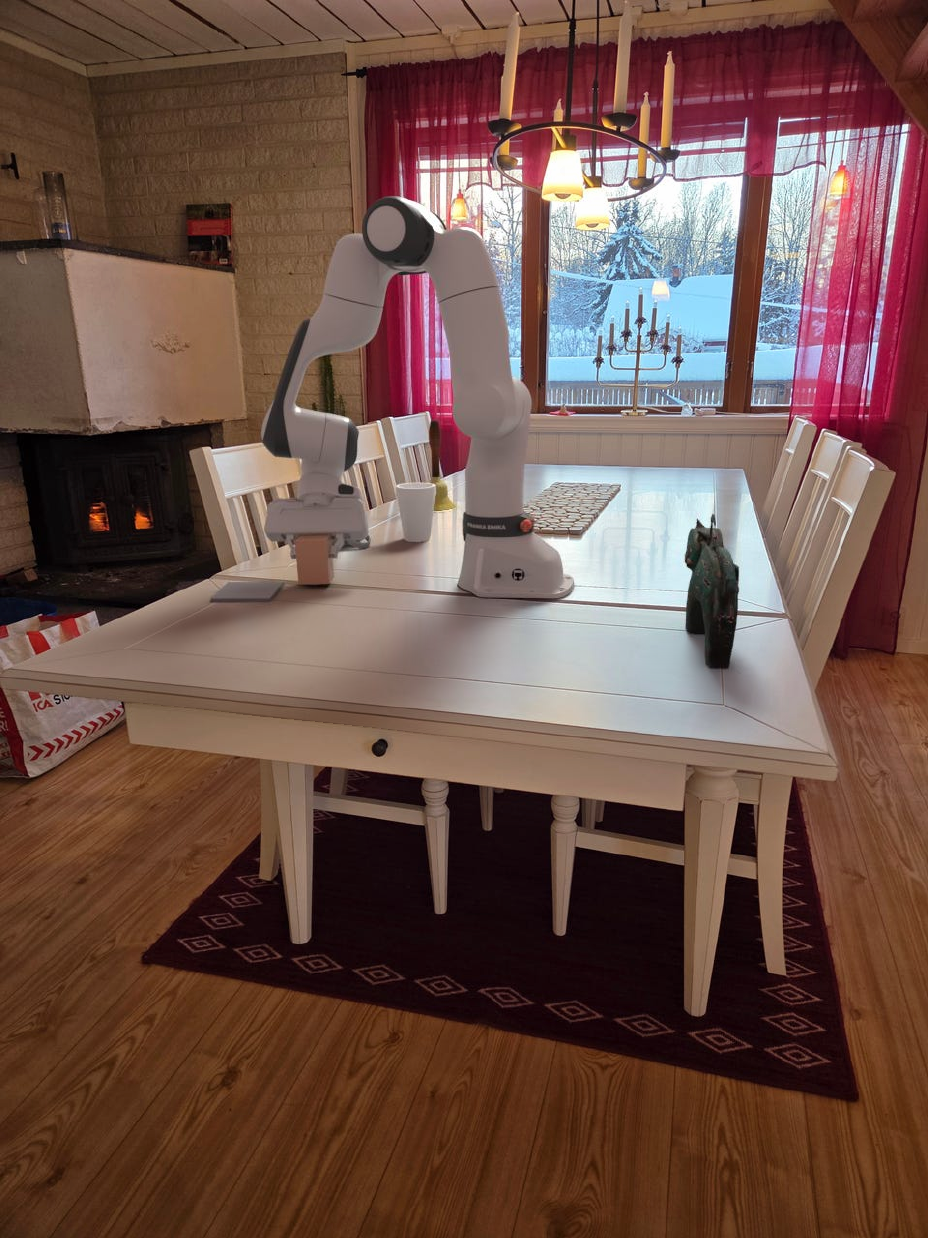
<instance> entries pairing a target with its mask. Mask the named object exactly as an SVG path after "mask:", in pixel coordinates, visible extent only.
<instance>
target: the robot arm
mask: <svg viewBox="0 0 928 1238" xmlns="http://www.w3.org/2000/svg"><path fill="white" fill-rule="evenodd" d="M361 232H362V233H357V232H356V233H350V234H346V235H344V236H342V237H341V238H340V239H338V241H337V243H336V244H335V248H334V251H333V253H332V255H331V258H330V262H329V266H328V269H327V273H326V277H325V282H324V287H323V294H322V297H321V298H322V299H321V301H320V304H319V306H318V309H317V310H316V311H315V313H314V314H313V315H312V316H311V317H310V318H307V319H306V318H305V319H303V320H302V322H301V323H300V325H299V327H298V328H297V330H296V333H295V335H294V337H293V341H292V344H291V346H290V349H289V351H288V352H287V353H288V354H287V357H286V359H285V363H284V365H283V369H282V372H281V375H280V378H279V381H278V384H277V388H276V391H275V395H274V398H273V399H272V403H271V404H270V406H269V408H268V410H267V412H266V413H265V416H264V418H263V421H262V425H261V431H260V434H261V435H260V437H261V443H262V444H263V446H264V447H265V448H266V449H267V452H269V453H270V455H272V456H274V457H275V458H287V459H292V458H293V459H298V460H301V462H300V463H301V464H300V468H301V469H300V470H301V476H300V478H299V481H298V489H297V495H296V496H297V497H288V498H281V497H278V498H275V499H274V500H272V501H270V502H269V503H268V504H267V507H266V518H265V522H264V527H263V530H264V534H265V536H266V538H267V539H268V540H269V541H271V542H287V545H288V547H289V548H290V553H289V555H290V558H291V559H292V560H296V552H295V540H296V539H297V538H298V537H299V536H300V535H331V540H336V541H337V542H336V543H335V544H334V546H332V547H329V556H330V558H333V559H338V557H339V551H340V550H341V549H342V548H343V547H344V546H343V545H344V543H345V540H362V541H365V540H366V539H365V538H366V537H367V536H368V535H369V519H368V515H367V511H366V507H365V500H364V496H363V494H362V491H361V488H360V487H357V486H355V485H351V484H348V483H345V482H343V480H342V479H343V476H344V475H345V472H347V471H349V469H351V468H352V466H353V465H355V463H356V461H357V457H358V440H359V435H360V432H359V429H358V427H357V425H356V424H355V422H354V421H353V420H352V419H351V418H349V417H346V416H343V415H339V414H334V413H329V412H322V411H318V410H317V411H316V410H311V409H307V408H302V407H299V406H297V404H296V401H297V399H298V394H299V391H300V389H301V385H302V383H303V380H304V377H305V374H306V371H307V368H308V367H309V365H310V364H311V363H312V362H313V361H314V360H316V359H318V358H320V357H323V356H326V355H333V354H338V353H345V352H351V351H354V350H357V349H360V348H362V347H364V346H366V345H367V344H369V343H370V342H371V341H372V340H373V339H374V338H375V336H376V335H377V332H378V329H379V325H380V323H381V318H382V313H383V310H384V309H383V307H384V305H385V297H386V291H387V287H388V285H389V283H390V281H391V279H393V277H394V276H395V275H398V276H409V275H421V274H426V273H427V274H428V275H429V278H430V279H431V281H432V284H433V288H434V290H435V291H434V292H435V295H436V300H437V304H438V309H439V312H440V317H441V322H442V325H443V330H444V334H445V339H446V342H447V347H448V353H449V361H450V376H451V385H452V386H451V387H452V394H453V395H452V396H453V401H452V408H451V409H452V411H451V412H452V418H453V421H454V424H455V425H456V426H457V428H458V429H459V430H460V432H461V433H462V434H464V435H465V436H467V437H469V438H471V439H470V445H469V446H470V447H469V451H468V452H469V453H468V458H467V463H466V466H465V470H464V502H465V504H464V506H465V507H464V508H465V511H464V512H463V514H462V537H463V539H462V540H463V542H464V545H463V546H464V548H463V556H462V564H461V569H460V575H459V576H458V577H459V578H458V581H457V585H458V586H459V588H461V589H463V590H465V591H467V592H471V593H473V595H475V596H477V597H479V598H505V599H506V598H507V599H508V598H509V599H510V598H511V599H512V598H513V599H514V598H515V599H516V598H517V599H520V598H522V599H559V598H563V597H565V596H567V595H568V594H570V593H571V592H572V591H573V590H574V587H575V579H574V578H573V576H571V575H570V574H565V573H564V568H563V561H562V558H561V555H560V553H559V551H558V550H557V549H555V548H554V547H553V546H551V545H550V544H549V543H548V542H546V541H545V539H542V537H540V536H539V535H538V534H537V533H535V532H534V529H535V515H534V514H533V515H531V514H529V513H527V512H526V511H524V507H525V506H524V502H525V501H524V498H525V493H524V491H525V467H526V466H525V465H526V458H527V453H528V452H527V450H528V444H529V443H528V442H529V435H530V434H529V432H530V423H531V411H532V406H533V405H532V395H531V394H530V391H529V389H528V388H527V386H526V385H525V383H524V382H523V381H522V380H520V379H519V378H517V377H516V376H514V375H513V374H512V369H511V368H512V367H511V355H510V330H509V326H508V322H507V318H506V317H507V315H506V313H505V308H504V303H503V299H502V296H501V295H502V294H501V290H500V286H499V281H498V277H497V274H496V271H495V267H494V265H493V261H492V259H491V255H490V253H489V251H488V248H487V246H486V243H485V240H484V239H483V237H482V235H481V234H480V233H479V232H478V231H477V230H475V229H473V228H471V227H465V226H458V227H457V226H456V227H451V228H450V229H449V228H447V225H446V224H445V223H444V221H443V220H442V218H441V217H440V216H439V215H438V214H436V213H435V212H433V211H431V210H430V209H427V207H425V205H422V204H421V203H419V202H417V201H414V200H409V199H407V198H405V197H402V196H396V195H395V196H394V195H393V196H392V195H391V196H384V197H382V198H379V199H378V200H376V201H374V202H373V203H372V204H371V205H370V206H369V208H368V209H367V210H366V212H365V214H364V216H363V220H362V224H361Z"/></svg>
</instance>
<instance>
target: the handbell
mask: <svg viewBox="0 0 928 1238" xmlns="http://www.w3.org/2000/svg"><path fill="white" fill-rule="evenodd" d="M440 427H441V426H440V422H439V420H438V419H431V420H430V423H429V430H428V443H429V446H430V450H431V452H430V453H431V479H430V481H428V482H427V483H431V484H435V485H436V495H435V502H434V511H442V510H449V509H453V508H455V507H456V506H457V504H455V503H454V502H453V501H452V500H451V499H450V497H449V496H448V495H449V494H448V492H449V491H448V490H449V489H448V485H447V484H446V483H445V482H444V481H443V480H442V479H441V477H440V448H441V444H442V436H441V433H442V432H441V428H440Z"/></svg>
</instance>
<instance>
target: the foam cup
mask: <svg viewBox="0 0 928 1238" xmlns="http://www.w3.org/2000/svg"><path fill="white" fill-rule="evenodd" d="M435 495H436V485H435V484H431V483H428V482H407V483H405V482H404V483H399V484H396V486H395V496H396V498H397V504H398V507H399V508H398V510H399V514H400V516H399V517H400V519H401V520H400V522H401V527H402V533H403V537H404V538H403V539H404V541H406V542H410V543H411V542H413V543H422V541H423V542H428V541H430V540H431V539H430V538H431V536H432V528H433V520H434V513H433V511H434V502H435ZM429 539H430V540H429ZM427 540H428V541H427Z"/></svg>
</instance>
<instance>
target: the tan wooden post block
mask: <svg viewBox="0 0 928 1238" xmlns="http://www.w3.org/2000/svg"><path fill="white" fill-rule="evenodd" d="M294 547H295V552H296V559H295V561H296V572H297V573H296V574H297V581H298V582H297V584H298V585H311V584H319V585H330V584H331V582H332V581H333V579H334V578H335V570H334V558H330V556H329V547H333V546H332V543H331V535H300V536H299V537H298V538H297V539H296V540H295V545H294Z"/></svg>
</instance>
